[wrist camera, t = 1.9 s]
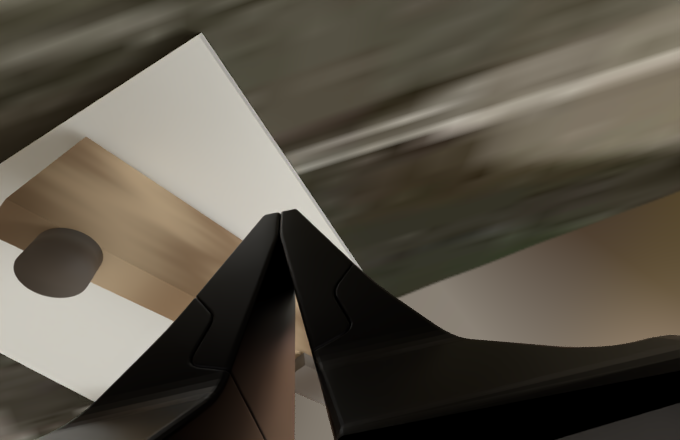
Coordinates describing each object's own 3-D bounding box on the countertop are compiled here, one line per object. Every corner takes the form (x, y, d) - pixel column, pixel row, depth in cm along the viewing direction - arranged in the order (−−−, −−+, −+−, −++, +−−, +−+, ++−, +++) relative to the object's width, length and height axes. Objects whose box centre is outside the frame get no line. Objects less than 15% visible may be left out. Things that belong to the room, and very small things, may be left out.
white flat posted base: (201, 32, 14) (151, 61, 8) (378, 294, 23) (415, 397, 17) (-144, 257, 16) (-378, 407, 10) (141, 412, 25) (102, 538, 19)
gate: (337, 300, 21) (359, 397, 16) (316, 317, 21) (330, 417, 16) (88, 132, 14) (-16, 212, 9) (64, 164, 14) (-48, 257, 9)
